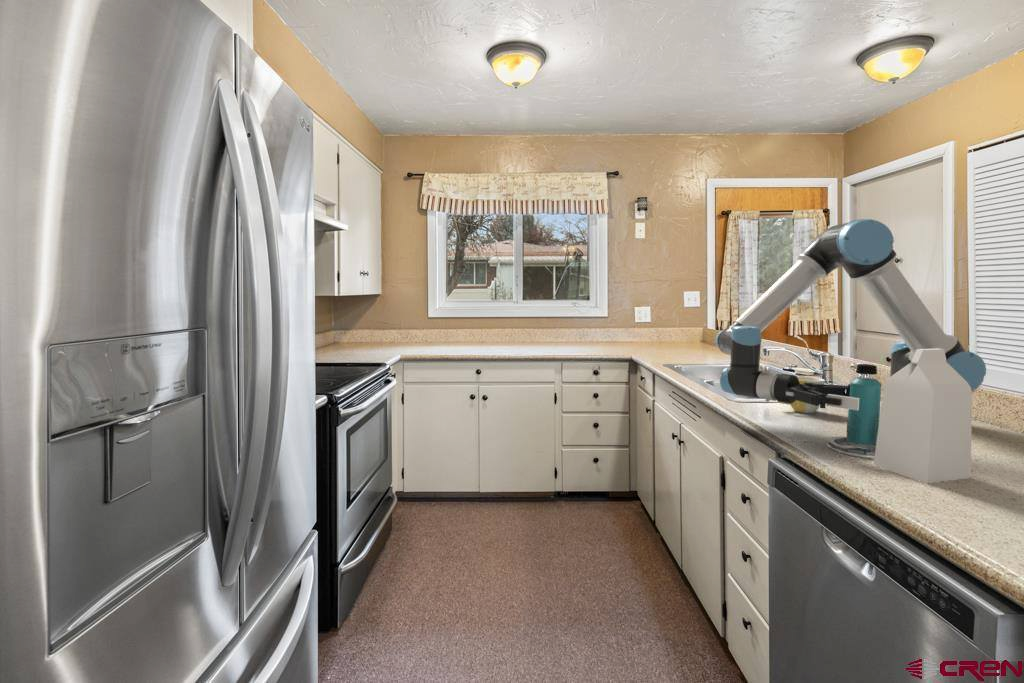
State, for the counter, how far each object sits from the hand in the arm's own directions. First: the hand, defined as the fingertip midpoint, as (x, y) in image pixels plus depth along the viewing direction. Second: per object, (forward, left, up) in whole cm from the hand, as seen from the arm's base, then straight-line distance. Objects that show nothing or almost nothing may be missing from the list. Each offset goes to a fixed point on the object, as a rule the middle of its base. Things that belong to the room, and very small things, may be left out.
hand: (869, 400), depth 127 cm
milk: (+2, +14, -12) cm, 19 cm away
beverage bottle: (0, -1, -12) cm, 12 cm away
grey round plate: (0, -1, -12) cm, 12 cm away
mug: (-19, -38, -12) cm, 44 cm away
